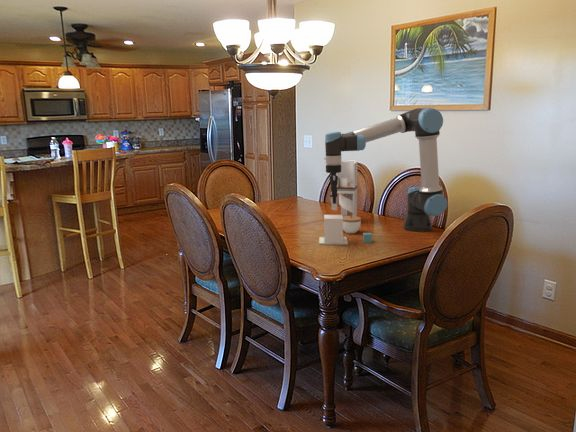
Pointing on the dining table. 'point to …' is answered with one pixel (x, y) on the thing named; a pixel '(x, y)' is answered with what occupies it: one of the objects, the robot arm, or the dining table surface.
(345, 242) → the mat
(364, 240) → the teal block
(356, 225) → the lidded jar
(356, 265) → the dining table surface
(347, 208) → the display case
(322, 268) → the dining table surface
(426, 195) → the robot arm
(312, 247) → the dining table surface
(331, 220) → the white block
